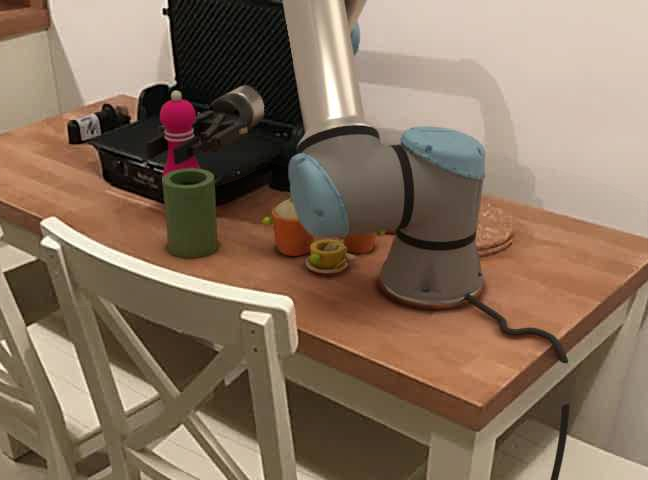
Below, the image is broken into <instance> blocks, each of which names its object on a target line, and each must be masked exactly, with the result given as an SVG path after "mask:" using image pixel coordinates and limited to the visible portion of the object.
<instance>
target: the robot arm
mask: <svg viewBox="0 0 648 480" xmlns="http://www.w3.org/2000/svg"><path fill="white" fill-rule="evenodd" d="M367 2H368V0H282V6H283V11H284V19H285V21H286V24H287V30H288V36H289V42H290V48H291V54H292V59H293V63H292V65H293V71H294V76H295V82H296V88H297V95H298V100H299V106H300V112H301V118H302V123H303V131H304V135H303V136H302V138H300V140H299V142H298V143H297V145H296V153H297V154H295V155H293V156H292V157H291V158H290V160H289V163H288V172H287V174H288V181H289V184H290V185H289V191H290V196H291V197H292V201H293V204H294V208H295V211H296V213H297V216H298V218H299V221H300V222H301V224H302V226H303V227H304V228H305V230H306V231H307V232H308V233H309V234H310V235H312V236H314V238H318V239H326V238H338V239H339V238H343V237H346V236H348V235H357V234H365V233H373V232H382V231H390V230H396V231H395V233H394V237H393V240H392V243H391V246H390V248H389V251H388V254H387V256H386V259H385V260H384V262H383V264H382V266H381V269H380V272H379V273H380V274H379V287H380V289H381V291H382V292H383V294H385V295H386V296H387V297H388V298H390V299H391V300H393V301H395V302H397V303H400V304H402V305H404V306H408V307H412V308H417V309H424V310H449V309H455V308H458V307H459V308H460V307H462V306H463V307H464V306H466V305H469V304H471V305H472V306H474V307H475V308H477V309H478V310H480V311H482V312H483V313H484V314H486V315H487V316H489V317H490V318H492V319H494V320H495V321H496V322H497V323H498V324H499V330H500V332H501V333H502V334H504V335H507V336H510V337H520V336H529V335H530V336H535V337H539V338H542V339H544V340H546V341H548V342H549V343H550V344H551V345H552V347H553V349H554V351H555V353H556V355H557V357H558V359H559V362H560V363H562V364H568V363H569V359H568V356H567V353H566V351H565V349H564V347H563V346H562V344H561V342H560V340H559V339H558V338H557V336H555V335H553V334H552V333H550V332H548V331H546V330H544V329H540V328H536V327H529V326H528V327H521V328H511V327H508V322H507V320H506V318H505V317H503V316H502V315H501V314H500V313H498V312H497V311H496V310H494V309H492V308H491V307H489V306H488V305H486V304H485V303H484V302H482V301H481V300H480V299H478V298H479V297H480V295H481V293H482V290H483V285H484V274H483V273H484V272H483V269H482V265H481V260H480V259H481V258H480V255H479V250H478V246H477V240H476V239H477V232H478V231H477V230H478V226H479V218H480V217H479V216H480V209H481V201H482V195H483V187H484V179H486V172H485V171H486V150H485V147H484V146H483V144H482V143H481V142H480V141H479V140H478V139H476V138H475V137H473V136H472V135H469V134H467V133H465V132H462V131H458V130H455V129H451V128H447V127H446V128H445V127H441V126H430V125H429V126H427V125H426V126H425V125H422V126H413V127H410V128H407V129H405V130H404V131H403V133H402V134H401V137H400V141H399V142H400V143H399V144H391V145H382V143H381V138H380V137H381V136H380V132H379V130H378V128H377V127H376V126H374V125H373V124H371V123H369V122H368V121H367V120H366V117H365V111H364V105H363V99H362V94H361V87H360V83H359V77H358V70H357V66H356V59H355V56H356V55H357V53H358V52H359V49H360V46H359V45H360V43H361V29H360V23H359V22H358V20H359V18H360V16H361V14H362V12H363V10H364V9H365V6H366V4H367ZM255 90H256V89H255V88H254V87H252V86H249V85H243V86H242V85H240V86H238V87H237V88H235V89H233V90H231V91H229V92H227V93H225V94H224V95H222V96H219V97H218V98H216V99H214V100H213V101H212V102H211V104H210V105H209V107H208V108H207V111H204V112H201V113H199V114H198V115H196V119H195V122H194V124H193V125H192V128H193V129H194V131H193V134H194V137H193V138H191V139H189V140H187V141H186V142H184V143H182V144H180V145H178V146H177V147H175V148H173V151H174V163H175V164H177V165H179V164H180V163H182V162H184V161H186V160H187V159H189V158H191V157H192V156H197V155H199V154H201V153H206V152H208V151H210V150H211V152H212V153H215V154H216V153H219V152H220V151H222V150H223V149H226V148H227V147H229V146H230V145H232V144H234V143H236V142H237V141H239V140H241V139H245V138H247V137H248V131H249V130H250V129H252V128H253V127H255V126H257V125H259V124H260V123H259V122H260V121H262V119H263V118H264V116H265V112H264V110H265V109H264V107H265V105H264V103H263V102H264V100H263V98H262V96H261V94H260V93H259V92H258V90H256V91H255ZM258 93H259V94H258ZM262 122H263V121H262ZM258 123H259V124H258ZM165 129H166V128H165V126H164V125H163V124H161V125H159V126H158V136H156V137H154V138H152V139H150V140H149V141H147V142H145V148H146V149H145V150H146V158H147V160H148V159H149V160H152V159H154V158H155V157H158V156H160V155H161V154H163V153H165V152H166V151H168V141H167V140H166V139H165V133H164V130H165ZM570 404H571V403H569V402H568V403H566V404H563V405H561V410H560V411H561V412H560V425H559V433H558V441H557V447H556V453H555V458H554V462H553V467H552V471H551V476H550V480H559V479H560V473H561V469H562V464H563V459H564V455H565V449H566V444H567V437H568V429H569V419H570Z"/></svg>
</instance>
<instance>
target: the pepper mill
mask: <svg viewBox="0 0 648 480" xmlns="http://www.w3.org/2000/svg"><path fill="white" fill-rule="evenodd" d="M170 98H171V99H169V100H168V101H166V102H165V103H164V104H162V106H161V109H160V110H159V111H160V112H159V120H160V123H161V125H164V126H165V128H166V129H165V130H164V133H165V139H166V140H167V141H168V150H167V151H168V152H167V159H166V162H165V165H164V168H163V170H162V176H161V179H162V178H163V177H164V176H165V174H167V173H169V172H172V171H174V170H179V169H186V168H196V169H201V167H200V165H199V163H198V161H197V159H196V157H195V156H196V155H194V156H192V157H191V158H189V159H187V160H186V161H184V162H182V163H180V164H179V165H177V164H175V163H174V151H173V148H175V147H177V146H178V145H180V144H182V143H184V142H186V141H187V140H189V139H191V138H193V137H195V136H194V134H193V131H194V129H193V128H192V125H193V124H194V122H195V119H196V116H197V114H196V110H195V108H194V106H193V104H192V103H191V102H190V101H188V100H185V99H182V98H183V97H182V92H181V91H179V90H173V91H172V92H171V94H170ZM161 181H162V180H161ZM162 185H163V181H162Z"/></svg>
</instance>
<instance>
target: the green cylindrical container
mask: <svg viewBox="0 0 648 480" xmlns="http://www.w3.org/2000/svg"><path fill="white" fill-rule="evenodd" d="M161 181H163V184H162V191H163V201H164V203H163V204H164V213H165V224H166V225H165V226H166V237H167V247H168V248H167V249H168V251H169V252H170V253H171V254H172V255H174V256H178V257H179V258H185V259H187V258H189V259H192V258H201V257H205V256H208V255H211V254H212V253H214V252H215V251H216V250H218V246H219V245H218V244H219V242H218V241H219V240H218V239H219V238H218V224H217V223H218V221H217V203H216V186H215V184H216V183H215V175H214V173H212V172H211V171H210V170H207V169H203V168H200V169H196V168H186V169H179V170H174V171H172V172H169V173H167V174H165V176H164V177H163V178H162V177H161Z"/></svg>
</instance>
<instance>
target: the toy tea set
mask: <svg viewBox="0 0 648 480" xmlns="http://www.w3.org/2000/svg"><path fill="white" fill-rule="evenodd" d="M262 225H263V226H264V227H270V226H272V227H273V231H274V239H275V245H276V249H277V251H278V252H279V253H280V254H283V255H285V256H289V257H290V256H292V257H296V256H297V257H298V256H303V255H304V256H305V255H306V254H308V253H310V255H308V257H306V259H305V266H306V268H307V269H309V270H310V271H312V272H315V273H318V274H336V273H339V272H342V271H343V270H345V269H346V268H347V267H348V265H349V263H354V262H356V259H357V258H356V256H355V255H354V254H366V253H369V252H370V251H372V250H373V248H374V245H375V241H376V237H377V236H378V237H383V236H384V235H385V234H386V233H387V234H395V231H396V230H390V231H382V232H373V233H365V234H357V235H348V236H346V237H343V238H338V239H339V240H337V239H332V238H331V239H330V238H321V239H318V240H315V241H314V238H315V237H314V236H312V235H310V234H309V233H308V232H307V231H306V230H305V228H304V227H303V226H302V224H301V222H300V221H299V218H298V216H297V213H296V211H295V208H294V204H293V201H292V197H291V195H290V196H289V199H285V200H283V201H282V202H280V203H279V204H278V205H276V206H274V207H273V209H272V210H271V217H269V216H266V217H264V218H263V220H262ZM340 240H343V241H344V242H342V241H340ZM347 251H349V252H351V253H348V252H347ZM352 253H353V254H352Z"/></svg>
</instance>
